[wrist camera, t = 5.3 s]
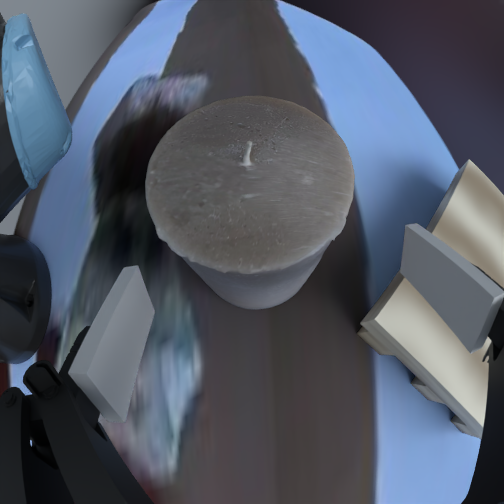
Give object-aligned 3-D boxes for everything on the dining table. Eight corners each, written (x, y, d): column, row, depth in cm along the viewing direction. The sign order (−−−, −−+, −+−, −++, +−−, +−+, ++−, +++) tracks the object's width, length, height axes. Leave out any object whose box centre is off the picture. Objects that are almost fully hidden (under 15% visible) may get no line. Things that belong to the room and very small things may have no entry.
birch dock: (466, 436, 18) (501, 447, 12) (348, 326, 23) (374, 319, 17) (533, 295, 22) (563, 283, 16) (443, 187, 27) (469, 159, 21)
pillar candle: (241, 189, 27) (220, 59, 13) (331, 240, 25) (393, 128, 11) (180, 272, 25) (89, 188, 11) (274, 334, 23) (290, 322, 9)
